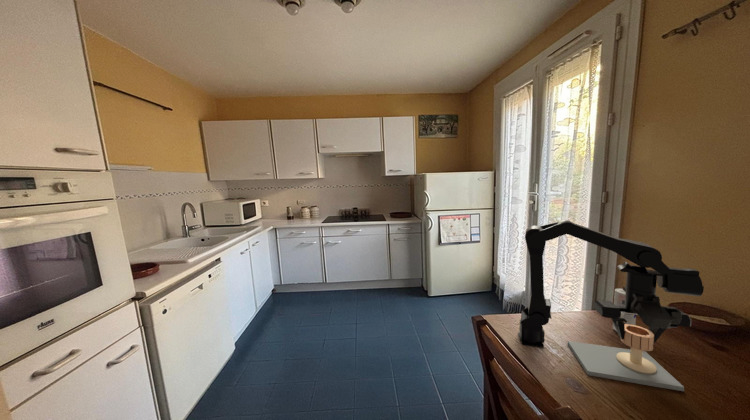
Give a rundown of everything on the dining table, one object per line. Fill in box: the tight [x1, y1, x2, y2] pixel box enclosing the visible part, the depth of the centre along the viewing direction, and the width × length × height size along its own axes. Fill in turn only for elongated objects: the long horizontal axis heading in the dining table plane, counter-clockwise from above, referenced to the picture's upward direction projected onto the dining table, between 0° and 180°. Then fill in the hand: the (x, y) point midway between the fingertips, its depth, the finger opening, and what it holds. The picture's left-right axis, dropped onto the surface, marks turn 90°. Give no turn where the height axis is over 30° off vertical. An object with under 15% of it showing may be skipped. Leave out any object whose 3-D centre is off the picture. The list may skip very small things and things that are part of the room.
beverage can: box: [612, 288, 637, 332], centre depth 88 cm, size 6×6×15 cm
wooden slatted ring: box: [619, 324, 655, 352], centre depth 71 cm, size 6×6×4 cm
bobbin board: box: [567, 340, 685, 392], centre depth 73 cm, size 20×14×7 cm
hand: (636, 340), depth 71 cm, fingers closed on wooden slatted ring, 6 cm apart
